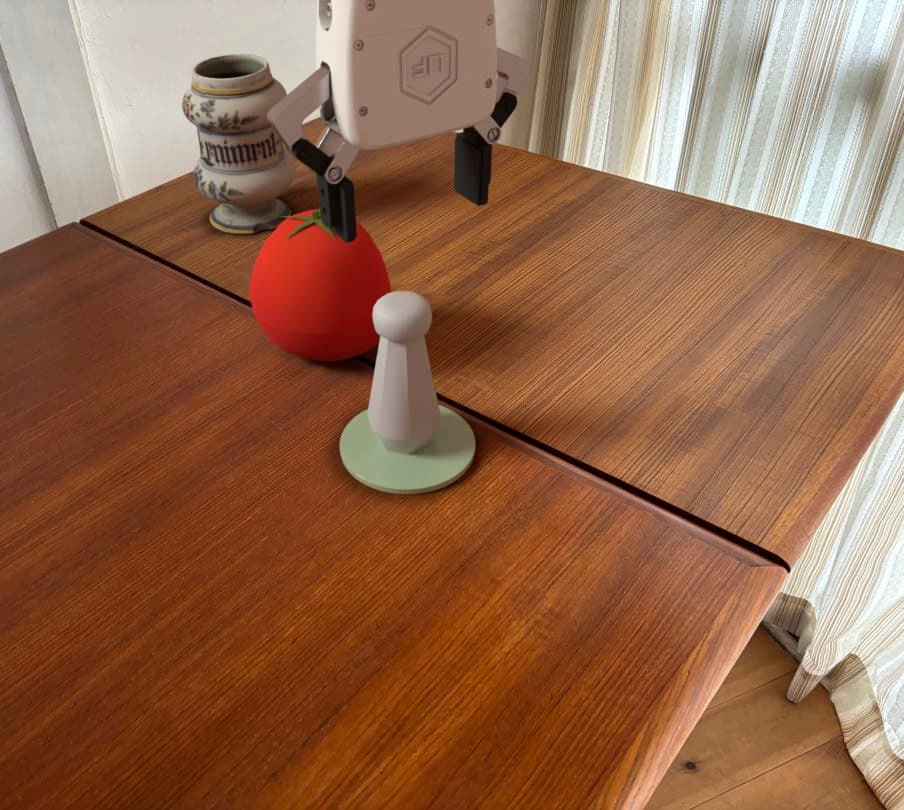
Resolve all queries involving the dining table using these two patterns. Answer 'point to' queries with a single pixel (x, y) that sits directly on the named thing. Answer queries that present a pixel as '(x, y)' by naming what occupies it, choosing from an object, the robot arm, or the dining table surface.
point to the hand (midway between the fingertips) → (407, 215)
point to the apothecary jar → (239, 142)
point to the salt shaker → (403, 374)
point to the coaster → (408, 456)
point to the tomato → (318, 289)
